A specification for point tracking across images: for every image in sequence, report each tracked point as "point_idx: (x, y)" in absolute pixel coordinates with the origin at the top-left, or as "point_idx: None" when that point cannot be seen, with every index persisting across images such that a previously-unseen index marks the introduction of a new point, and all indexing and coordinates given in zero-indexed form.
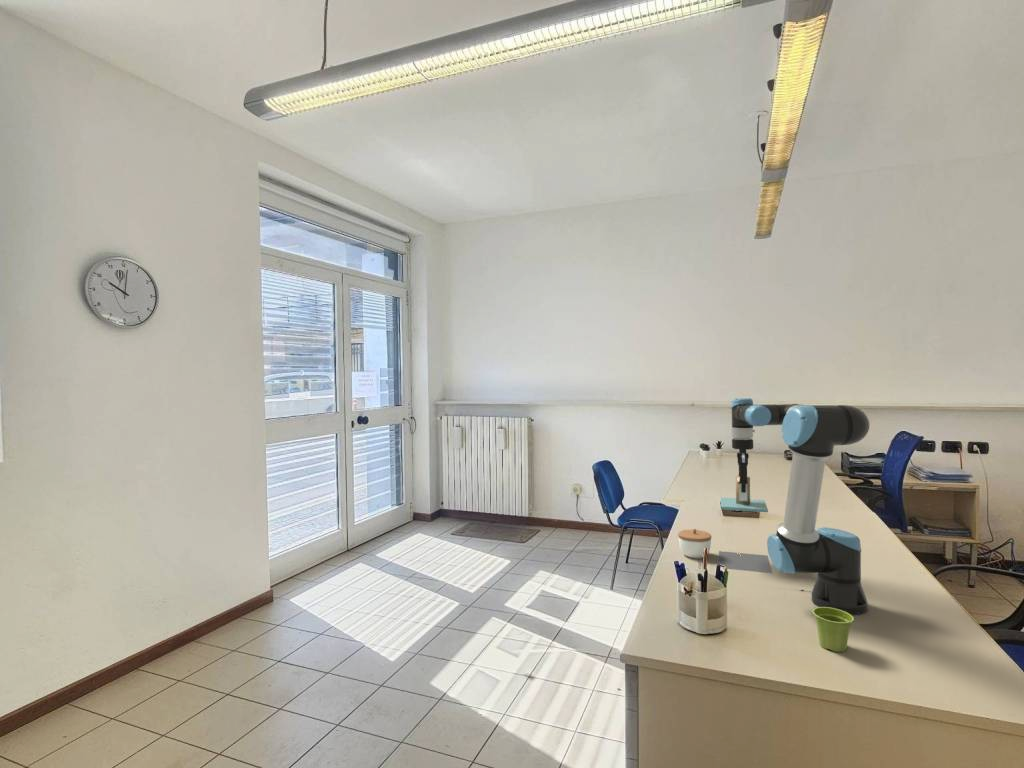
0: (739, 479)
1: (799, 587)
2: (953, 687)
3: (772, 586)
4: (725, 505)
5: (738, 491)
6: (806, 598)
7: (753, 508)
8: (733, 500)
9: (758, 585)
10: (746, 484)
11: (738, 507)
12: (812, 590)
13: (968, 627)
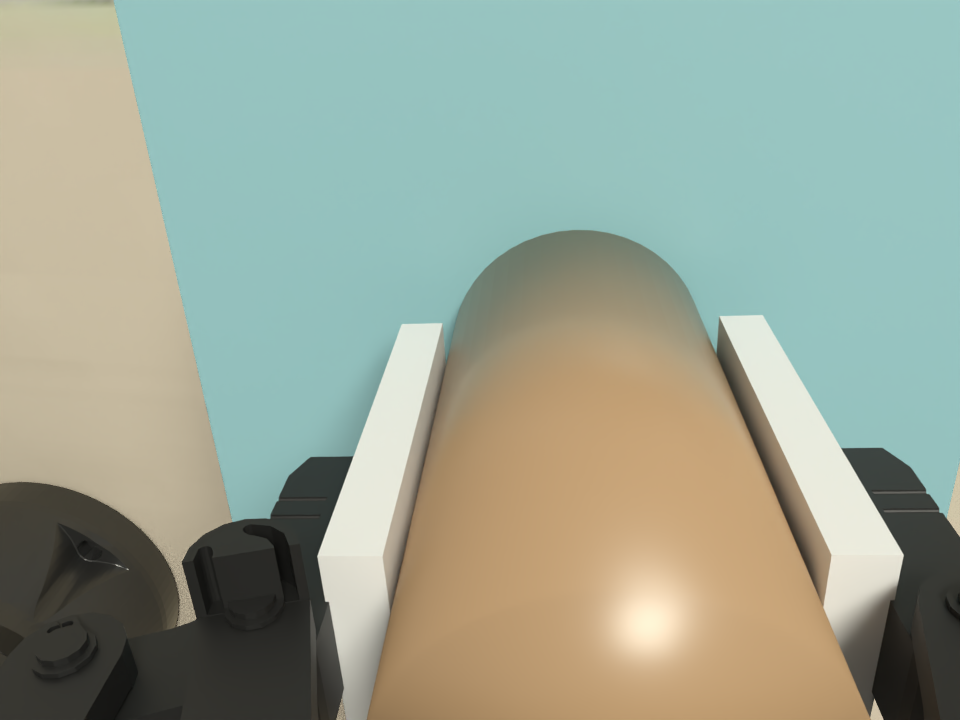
0: (387, 650)
1: (205, 446)
2: None
3: (137, 306)
4: (248, 28)
5: (457, 390)
6: (50, 461)
7: (239, 482)
8: (779, 179)
9: (105, 223)
10: (345, 696)
11: (193, 271)
12: (17, 518)
13: None
